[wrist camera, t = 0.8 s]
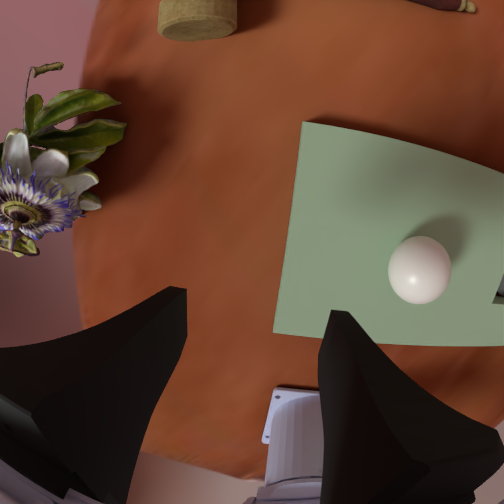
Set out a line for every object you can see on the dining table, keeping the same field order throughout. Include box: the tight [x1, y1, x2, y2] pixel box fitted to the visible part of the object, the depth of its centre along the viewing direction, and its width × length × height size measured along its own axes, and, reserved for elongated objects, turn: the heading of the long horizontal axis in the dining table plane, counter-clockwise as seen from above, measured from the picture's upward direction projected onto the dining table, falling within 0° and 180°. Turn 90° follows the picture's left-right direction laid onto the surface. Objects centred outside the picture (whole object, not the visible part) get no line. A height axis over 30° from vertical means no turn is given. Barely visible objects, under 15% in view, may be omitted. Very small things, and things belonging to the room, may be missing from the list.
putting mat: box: [273, 121, 504, 346], centre depth 18 cm, size 14×26×2 cm, turn 85°
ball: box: [388, 236, 451, 304], centre depth 16 cm, size 4×4×4 cm
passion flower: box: [0, 62, 127, 257], centre depth 16 cm, size 11×11×12 cm
